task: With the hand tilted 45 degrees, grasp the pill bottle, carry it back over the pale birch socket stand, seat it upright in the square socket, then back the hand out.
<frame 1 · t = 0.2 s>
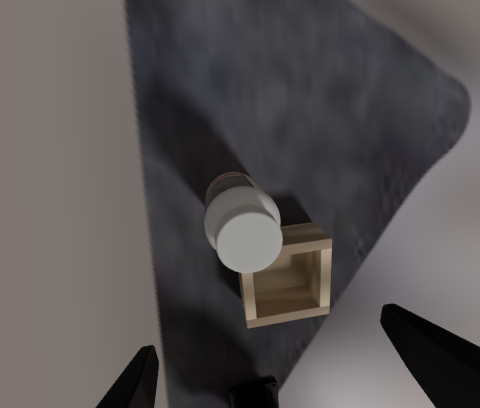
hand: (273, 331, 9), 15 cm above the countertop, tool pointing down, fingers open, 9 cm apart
pill bottle: (232, 197, 22), on the countertop
birch socket stand: (275, 262, 25), on the countertop
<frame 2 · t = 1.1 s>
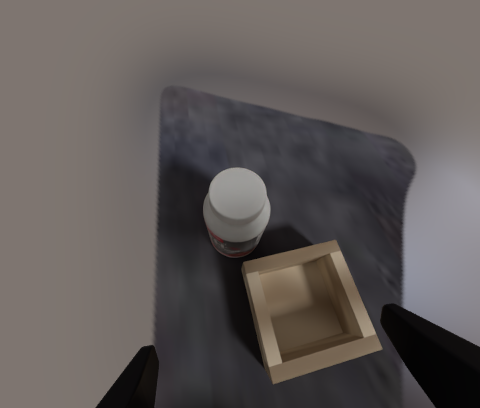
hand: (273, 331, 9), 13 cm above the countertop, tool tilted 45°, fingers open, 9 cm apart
pill bottle: (235, 234, 24), on the countertop
birch socket stand: (295, 303, 21), on the countertop
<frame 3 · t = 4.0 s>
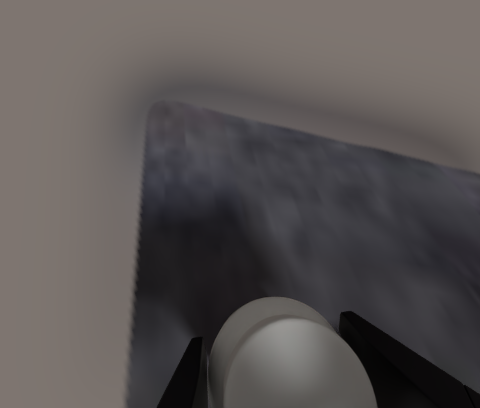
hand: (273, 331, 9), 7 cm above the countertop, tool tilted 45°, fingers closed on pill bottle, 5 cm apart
pill bottle: (259, 347, 15), on the countertop, touching gripper
when the fingers open (8 cm above the countertop, at t = 7.6 s): pill bottle stays where it is, resting on birch socket stand.
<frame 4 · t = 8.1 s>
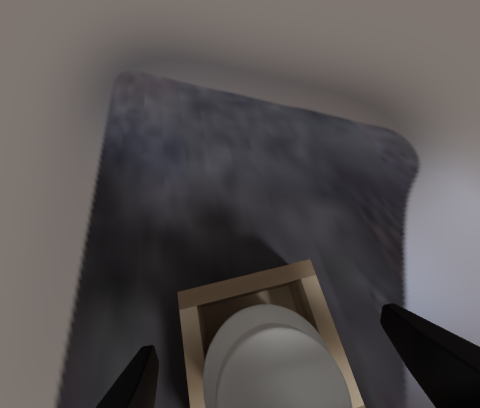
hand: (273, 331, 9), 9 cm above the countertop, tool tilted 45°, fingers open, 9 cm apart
pill bottle: (254, 349, 15), resting on birch socket stand
birch socket stand: (258, 344, 16), on the countertop
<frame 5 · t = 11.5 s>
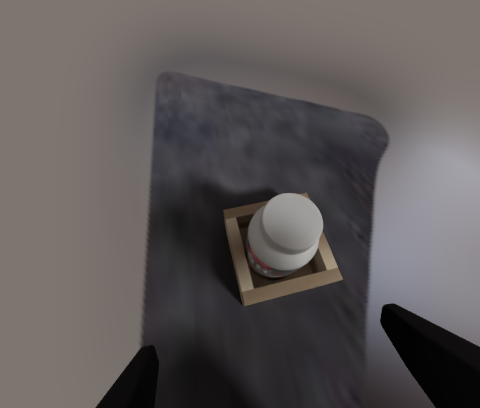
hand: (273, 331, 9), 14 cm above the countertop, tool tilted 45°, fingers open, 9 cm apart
pill bottle: (270, 255, 23), resting on birch socket stand
birch socket stand: (272, 253, 24), on the countertop
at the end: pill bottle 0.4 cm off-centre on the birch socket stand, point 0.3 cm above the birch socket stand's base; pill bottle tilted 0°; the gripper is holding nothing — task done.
